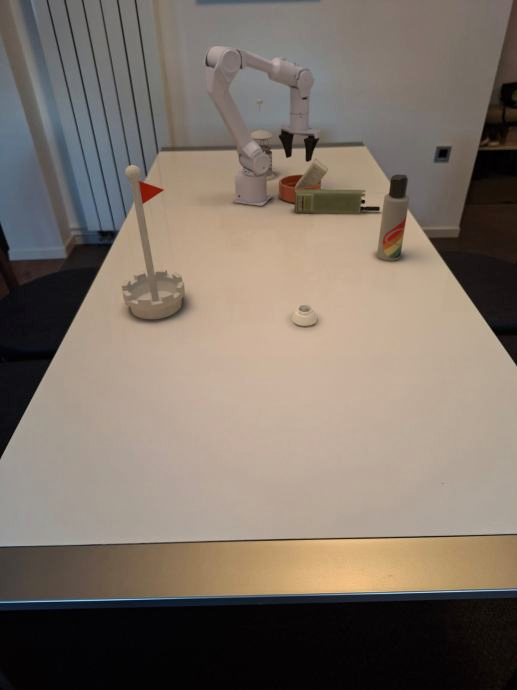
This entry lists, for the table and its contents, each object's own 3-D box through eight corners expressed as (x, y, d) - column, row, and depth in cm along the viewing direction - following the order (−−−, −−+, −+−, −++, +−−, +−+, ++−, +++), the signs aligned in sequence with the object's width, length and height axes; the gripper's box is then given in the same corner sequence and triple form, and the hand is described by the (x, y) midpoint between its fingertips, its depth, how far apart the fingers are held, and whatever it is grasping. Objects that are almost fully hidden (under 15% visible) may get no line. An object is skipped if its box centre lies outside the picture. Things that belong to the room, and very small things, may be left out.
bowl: (272, 201, 156) (272, 185, 153) (287, 187, 166) (287, 172, 163) (312, 206, 152) (313, 190, 149) (325, 192, 162) (326, 177, 159)
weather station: (244, 179, 174) (240, 101, 159) (253, 169, 183) (251, 94, 168) (270, 181, 172) (270, 102, 157) (279, 171, 181) (279, 95, 166)
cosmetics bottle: (308, 192, 160) (328, 168, 154) (306, 197, 156) (327, 172, 151) (296, 182, 159) (316, 157, 153) (294, 187, 155) (314, 161, 149)
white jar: (310, 311, 104) (288, 317, 103) (310, 299, 102) (288, 305, 101) (320, 324, 100) (298, 329, 99) (321, 311, 99) (298, 317, 97)
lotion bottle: (400, 262, 121) (413, 180, 109) (376, 260, 122) (387, 179, 110) (399, 251, 126) (412, 172, 114) (377, 250, 127) (386, 171, 115)
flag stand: (128, 326, 102) (95, 180, 84) (124, 295, 112) (94, 159, 94) (190, 315, 104) (172, 172, 86) (181, 286, 114) (163, 152, 96)
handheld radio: (295, 209, 150) (378, 210, 148) (294, 214, 148) (379, 215, 145) (295, 188, 146) (381, 188, 144) (294, 192, 144) (382, 193, 141)
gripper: (327, 112, 148) (324, 159, 156) (287, 107, 155) (287, 152, 163) (314, 117, 143) (312, 165, 151) (274, 111, 151) (274, 157, 159)
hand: (298, 158), depth 157 cm, fingers open, 7 cm apart
